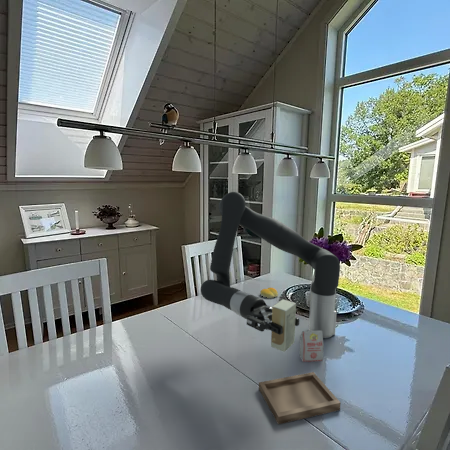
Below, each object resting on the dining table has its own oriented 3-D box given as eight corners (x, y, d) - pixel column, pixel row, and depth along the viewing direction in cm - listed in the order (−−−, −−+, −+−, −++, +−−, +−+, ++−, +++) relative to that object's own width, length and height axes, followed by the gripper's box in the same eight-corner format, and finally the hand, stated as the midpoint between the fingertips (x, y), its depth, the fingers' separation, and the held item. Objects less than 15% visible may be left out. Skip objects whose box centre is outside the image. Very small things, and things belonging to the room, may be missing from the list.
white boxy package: (299, 355, 103) (300, 328, 102) (318, 354, 104) (319, 328, 102) (302, 361, 100) (304, 334, 98) (322, 361, 100) (324, 333, 99)
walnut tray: (313, 378, 92) (313, 371, 91) (340, 410, 79) (340, 402, 79) (258, 389, 87) (258, 382, 86) (278, 424, 74) (278, 416, 74)
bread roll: (257, 294, 157) (257, 287, 156) (271, 291, 161) (272, 284, 160) (265, 300, 150) (266, 292, 149) (280, 297, 153) (280, 290, 153)
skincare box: (281, 337, 87) (283, 298, 85) (295, 343, 85) (297, 302, 82) (269, 347, 82) (271, 305, 80) (283, 353, 80) (285, 310, 78)
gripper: (230, 300, 88) (273, 322, 75) (263, 289, 97) (306, 306, 85) (230, 324, 89) (272, 349, 77) (262, 310, 98) (305, 330, 86)
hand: (290, 326), depth 81 cm, fingers closed on skincare box, 6 cm apart
